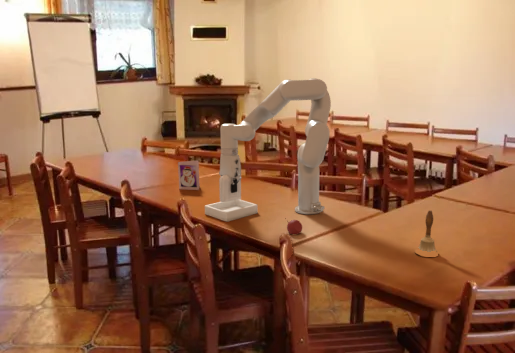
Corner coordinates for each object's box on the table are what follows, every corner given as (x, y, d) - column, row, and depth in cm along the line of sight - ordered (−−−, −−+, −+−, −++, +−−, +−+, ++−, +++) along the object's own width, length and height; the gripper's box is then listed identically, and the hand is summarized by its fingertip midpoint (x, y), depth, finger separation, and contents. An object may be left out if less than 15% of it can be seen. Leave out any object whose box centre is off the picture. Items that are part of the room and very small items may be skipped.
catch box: (257, 213, 233) (257, 204, 232) (226, 221, 221) (226, 213, 220) (235, 206, 244) (235, 198, 243) (204, 214, 233) (204, 205, 232)
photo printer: (237, 197, 236) (237, 171, 233) (242, 199, 232) (242, 173, 230) (218, 201, 230) (217, 174, 227) (222, 203, 227) (222, 176, 224)
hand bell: (433, 249, 186) (436, 207, 183) (442, 257, 178) (445, 214, 175) (411, 249, 186) (413, 207, 182) (419, 258, 178) (421, 214, 174)
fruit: (297, 235, 209) (290, 216, 211) (306, 231, 205) (298, 212, 206) (286, 238, 205) (279, 219, 207) (295, 234, 201) (288, 215, 202)
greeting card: (178, 189, 277) (177, 162, 274) (183, 186, 284) (182, 159, 281) (198, 190, 275) (197, 163, 271) (203, 187, 282) (202, 160, 278)
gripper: (248, 153, 223) (248, 193, 227) (224, 148, 235) (225, 186, 239) (235, 155, 218) (235, 196, 222) (211, 150, 230) (212, 189, 234)
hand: (230, 190), depth 230 cm, fingers closed on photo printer, 4 cm apart
